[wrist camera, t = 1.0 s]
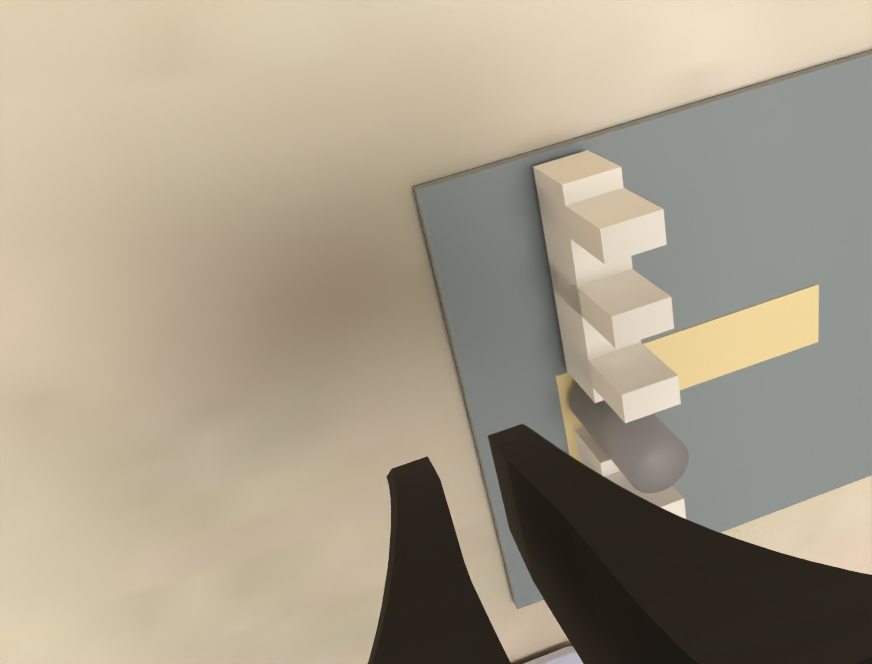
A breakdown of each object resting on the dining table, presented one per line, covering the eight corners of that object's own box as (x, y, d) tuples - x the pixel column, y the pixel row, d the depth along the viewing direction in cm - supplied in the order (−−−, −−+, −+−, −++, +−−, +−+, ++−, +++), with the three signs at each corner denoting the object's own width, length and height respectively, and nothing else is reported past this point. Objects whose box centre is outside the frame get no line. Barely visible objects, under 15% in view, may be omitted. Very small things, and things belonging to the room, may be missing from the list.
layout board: (872, 466, 31) (881, 472, 30) (513, 601, 29) (518, 610, 28) (893, 43, 23) (906, 44, 23) (413, 186, 21) (417, 191, 21)
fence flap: (624, 409, 26) (690, 480, 22) (573, 427, 25) (631, 502, 22) (591, 149, 22) (665, 185, 18) (529, 167, 21) (593, 208, 18)
